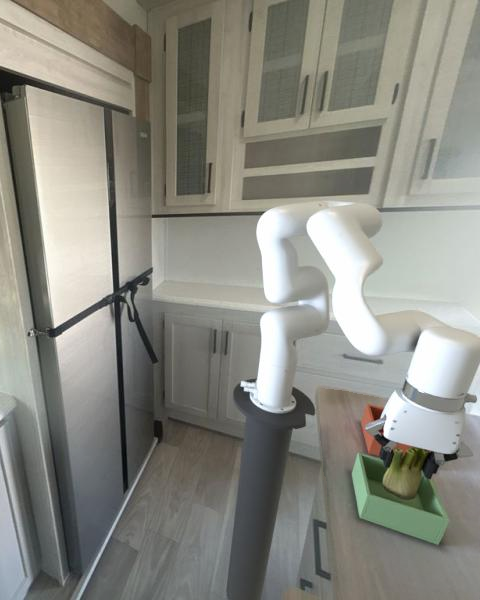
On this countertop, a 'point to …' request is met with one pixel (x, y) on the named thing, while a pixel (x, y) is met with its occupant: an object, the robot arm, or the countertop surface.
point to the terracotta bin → (372, 415)
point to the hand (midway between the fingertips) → (405, 466)
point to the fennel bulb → (405, 472)
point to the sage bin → (398, 503)
